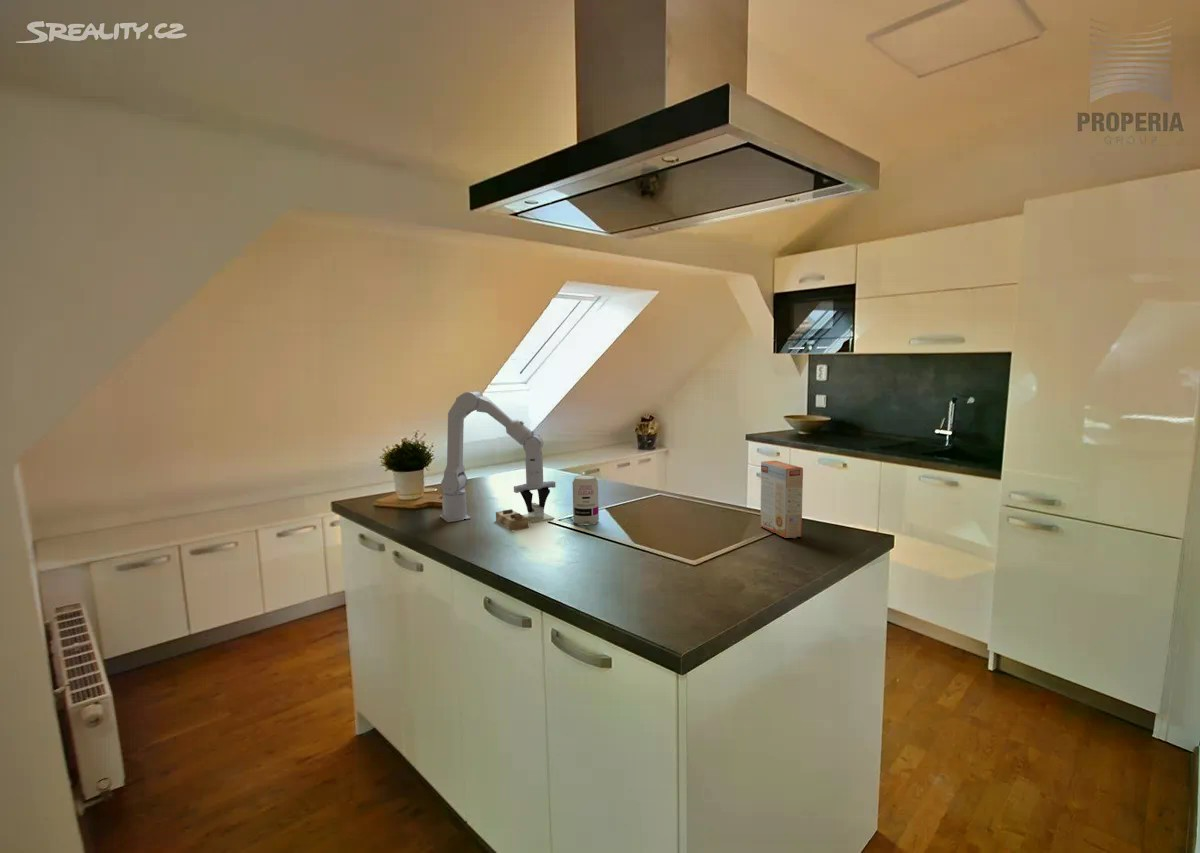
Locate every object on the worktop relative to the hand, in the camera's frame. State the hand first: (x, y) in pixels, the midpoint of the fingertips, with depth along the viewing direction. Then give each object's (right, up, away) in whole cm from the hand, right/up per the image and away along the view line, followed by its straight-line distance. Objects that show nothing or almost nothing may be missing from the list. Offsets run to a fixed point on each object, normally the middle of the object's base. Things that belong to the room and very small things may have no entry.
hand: (535, 510), depth 195 cm
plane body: (-7, -3, -6) cm, 10 cm away
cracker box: (+76, -4, -21) cm, 79 cm away
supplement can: (+17, -3, -6) cm, 18 cm away
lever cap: (0, -2, 0) cm, 2 cm away
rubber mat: (0, -3, +1) cm, 3 cm away
